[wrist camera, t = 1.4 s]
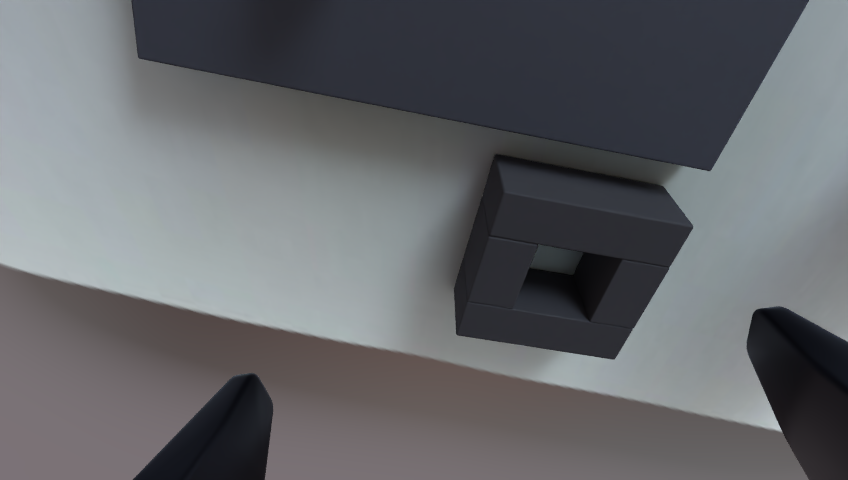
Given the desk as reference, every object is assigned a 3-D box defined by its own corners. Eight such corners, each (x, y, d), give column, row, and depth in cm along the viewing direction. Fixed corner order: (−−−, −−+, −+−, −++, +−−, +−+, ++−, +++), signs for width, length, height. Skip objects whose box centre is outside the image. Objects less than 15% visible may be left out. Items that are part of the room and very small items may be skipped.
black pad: (663, 185, 21) (695, 226, 18) (596, 312, 25) (614, 360, 22) (494, 153, 20) (503, 191, 17) (453, 289, 24) (455, 335, 21)
